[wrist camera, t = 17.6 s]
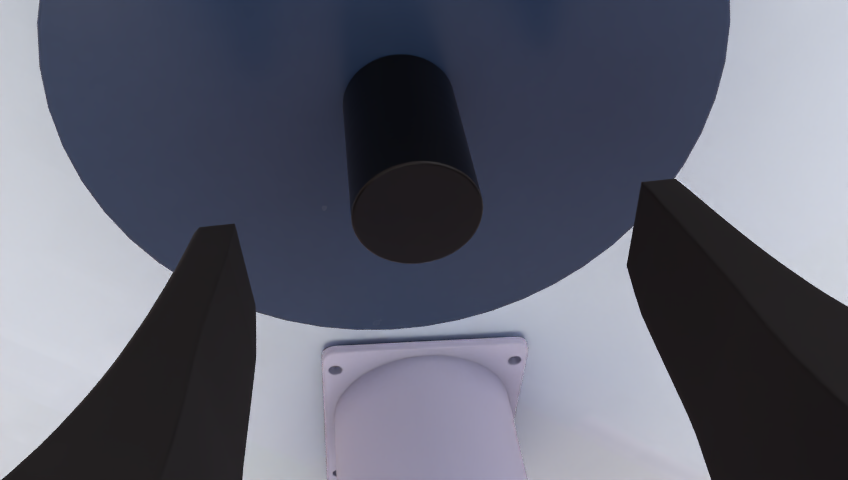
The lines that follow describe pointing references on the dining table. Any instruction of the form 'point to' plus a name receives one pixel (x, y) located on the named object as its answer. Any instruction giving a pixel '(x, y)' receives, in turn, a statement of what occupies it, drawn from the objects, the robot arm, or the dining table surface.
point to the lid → (381, 137)
